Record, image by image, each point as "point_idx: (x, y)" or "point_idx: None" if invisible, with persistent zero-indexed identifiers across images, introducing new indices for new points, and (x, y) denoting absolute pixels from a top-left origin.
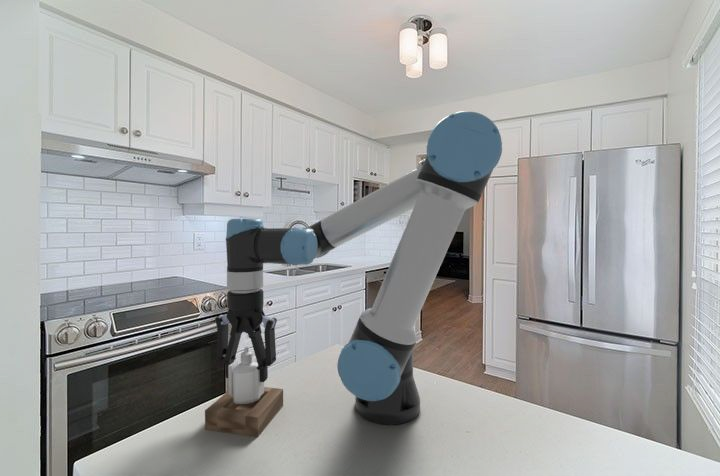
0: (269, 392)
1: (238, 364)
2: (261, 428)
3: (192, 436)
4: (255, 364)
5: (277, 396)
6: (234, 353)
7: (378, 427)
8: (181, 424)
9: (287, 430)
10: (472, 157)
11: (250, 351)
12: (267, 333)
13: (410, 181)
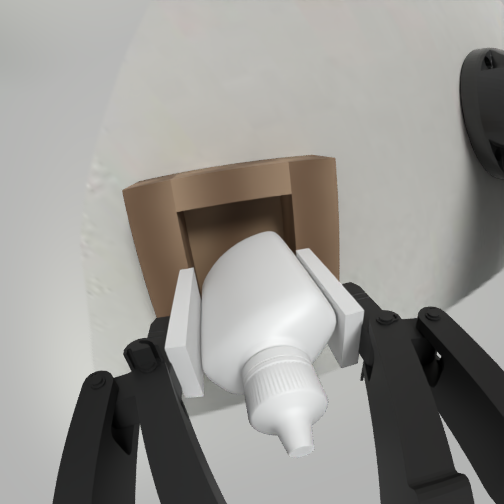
0: (299, 199)
1: (231, 381)
2: None
3: None
4: (323, 340)
5: (336, 208)
6: (185, 415)
7: (495, 187)
8: (111, 331)
9: (371, 257)
10: None
11: (309, 400)
12: (500, 477)
13: None
